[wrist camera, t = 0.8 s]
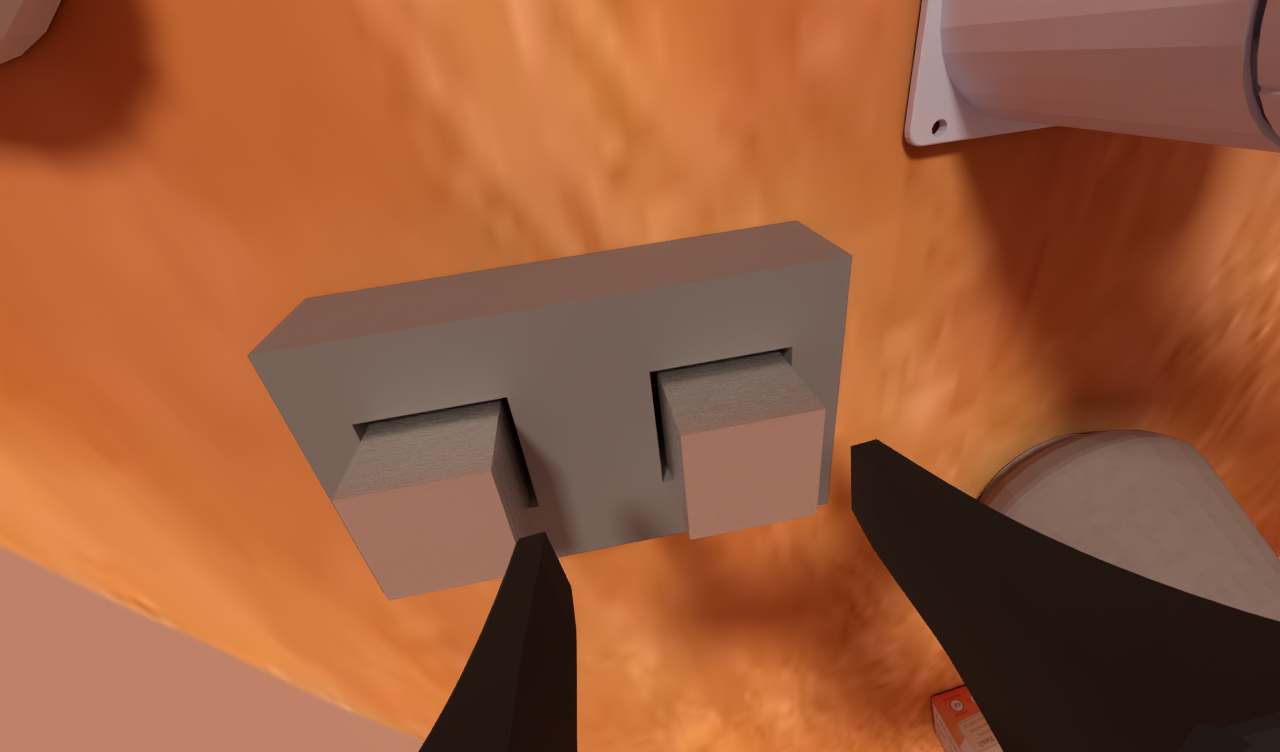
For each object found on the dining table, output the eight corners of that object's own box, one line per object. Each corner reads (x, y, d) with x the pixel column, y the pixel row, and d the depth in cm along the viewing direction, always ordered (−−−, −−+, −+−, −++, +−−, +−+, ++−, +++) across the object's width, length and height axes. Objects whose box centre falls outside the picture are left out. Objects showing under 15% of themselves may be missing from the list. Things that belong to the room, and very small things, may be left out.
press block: (797, 220, 19) (851, 255, 15) (787, 441, 24) (827, 503, 21) (304, 298, 18) (247, 355, 14) (407, 513, 23) (383, 592, 19)
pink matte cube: (775, 346, 17) (825, 408, 14) (772, 441, 19) (816, 514, 16) (656, 367, 17) (680, 435, 14) (666, 461, 19) (690, 540, 16)
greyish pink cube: (501, 394, 17) (490, 471, 14) (529, 488, 19) (525, 572, 16) (372, 417, 16) (331, 501, 13) (415, 509, 19) (388, 600, 15)
